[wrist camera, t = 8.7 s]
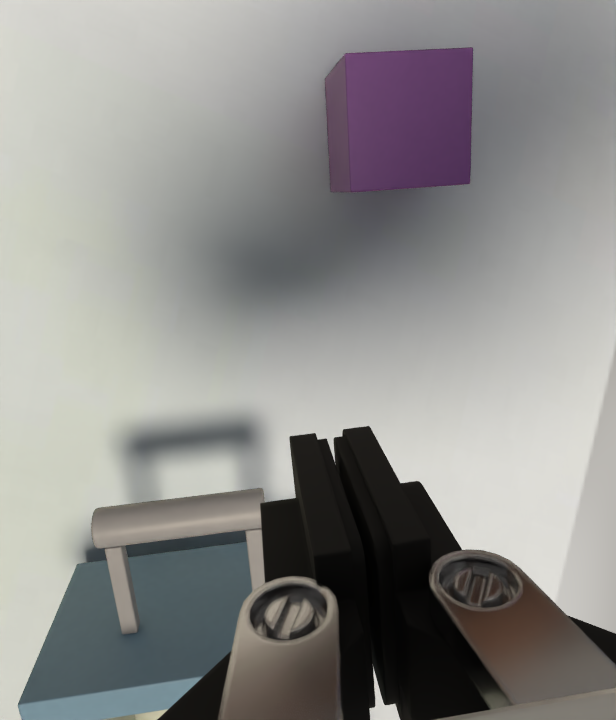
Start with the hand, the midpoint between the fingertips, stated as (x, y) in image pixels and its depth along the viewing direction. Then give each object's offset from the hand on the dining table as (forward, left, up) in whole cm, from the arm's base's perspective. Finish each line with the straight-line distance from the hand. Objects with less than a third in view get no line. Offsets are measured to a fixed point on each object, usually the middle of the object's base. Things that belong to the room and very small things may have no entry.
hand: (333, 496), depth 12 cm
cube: (-4, -8, -13) cm, 16 cm away
